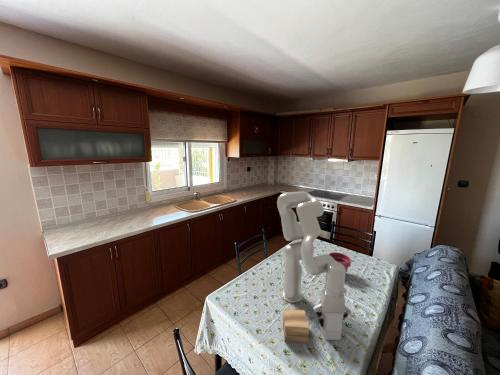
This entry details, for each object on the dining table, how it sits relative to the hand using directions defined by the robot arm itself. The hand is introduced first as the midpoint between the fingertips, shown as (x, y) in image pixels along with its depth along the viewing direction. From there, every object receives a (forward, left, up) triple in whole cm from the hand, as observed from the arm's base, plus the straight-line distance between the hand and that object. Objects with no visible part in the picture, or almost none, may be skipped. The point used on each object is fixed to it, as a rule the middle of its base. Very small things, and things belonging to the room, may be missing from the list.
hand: (330, 324), depth 95 cm
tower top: (+1, -16, -1) cm, 16 cm away
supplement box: (0, 0, -5) cm, 5 cm away
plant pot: (-47, +20, -5) cm, 51 cm away
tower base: (+1, -16, -5) cm, 17 cm away
